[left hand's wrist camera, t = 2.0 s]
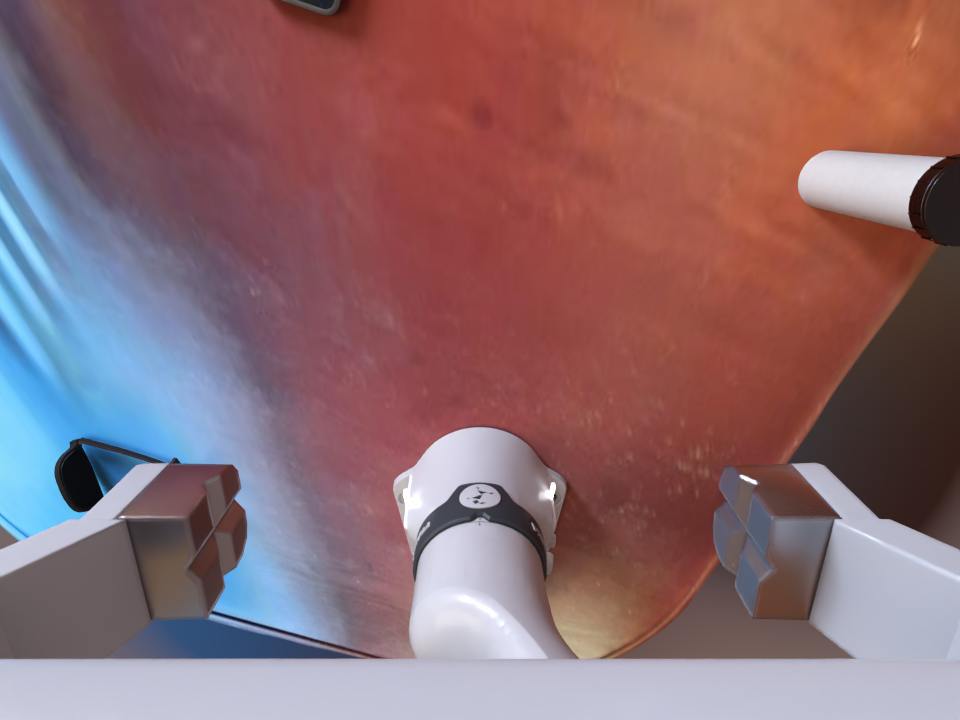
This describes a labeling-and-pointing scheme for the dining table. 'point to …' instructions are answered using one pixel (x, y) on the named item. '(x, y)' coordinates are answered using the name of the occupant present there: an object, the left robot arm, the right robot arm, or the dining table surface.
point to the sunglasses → (85, 474)
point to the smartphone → (317, 5)
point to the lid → (938, 203)
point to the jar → (864, 184)
